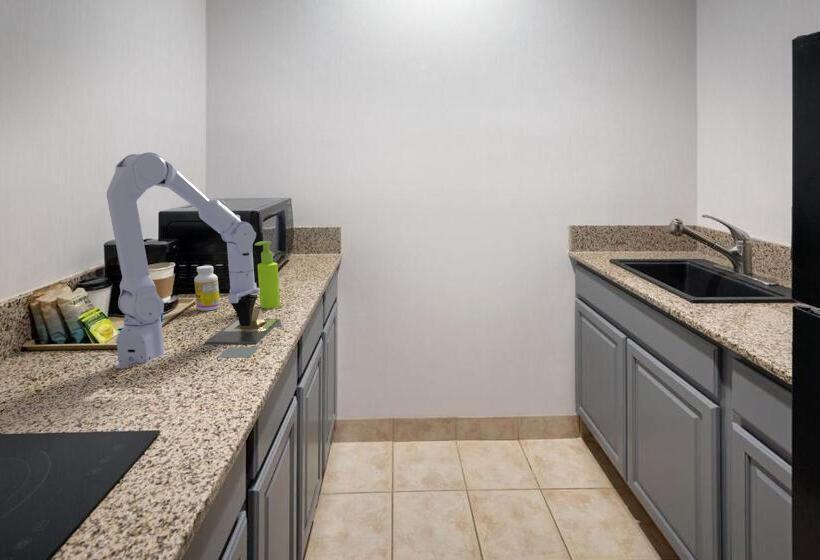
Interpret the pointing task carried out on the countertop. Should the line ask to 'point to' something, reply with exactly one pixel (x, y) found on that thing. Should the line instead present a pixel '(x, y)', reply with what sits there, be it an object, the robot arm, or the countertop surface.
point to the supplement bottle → (206, 289)
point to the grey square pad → (238, 352)
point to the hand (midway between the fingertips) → (245, 325)
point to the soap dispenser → (268, 278)
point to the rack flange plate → (243, 333)
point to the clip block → (255, 320)
